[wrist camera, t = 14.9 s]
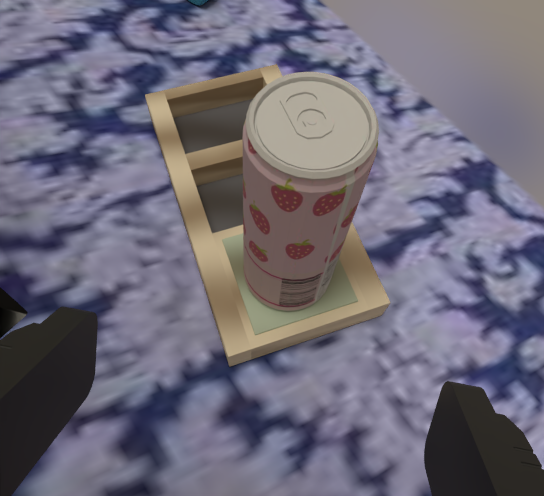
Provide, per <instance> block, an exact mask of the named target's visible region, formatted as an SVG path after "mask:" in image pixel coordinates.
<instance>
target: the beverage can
mask: <svg viewBox="0 0 544 496" xmlns="http://www.w3.org/2000/svg"><path fill="white" fill-rule="evenodd" d="M378 134H379V128H378V120H377V117H376V114H375V111H374V109H373V108H372V106H371V104H370V103H369V101H368V99H367V98H366V97H365V96H364V95H363V94H362V93H361V92H360V91H359V90H358V89H357V88H356V87H354V86H353V85H351V84H350V83H349V82H346V81H344V80H342V79H340V78H338V77H335V76H332V75H329V74H325V73H317V72H299V73H293V74H288V75H285V76H283V77H280V78H277V79H276V80H274V81H272V82H271V83H269V84H267V85H266V86H265V87H264V88H263V89H262V90H261V91H260V92H258V93H257V94H256V96H255V97H254V99H253V100H252V102H251V103H250V105H249V108H248V111H247V114H246V120H245V123H244V126H243V252H244V276H245V281H246V283H247V286H248V288H249V290H250V291H251V292H252V294H253V295H254V296H255V297H256V298H257V299H258V300H259V301H260V302H262V303H264V304H265V305H267V306H269V307H271V308H274V309H277V310H284V311H295V310H300V309H303V308H306V307H308V306H310V305H312V304H314V303H315V302H316V301H318V300H319V299H320V298H321V297H322V295H323V294H324V293H325V292H326V290H327V287H328V285H329V283H330V280H331V278H332V275H333V272H334V269H335V267H336V264H337V261H338V258H339V256H340V253H341V250H342V247H343V244H344V242H345V239H346V236H347V233H348V231H349V228H350V225H351V222H352V220H353V217H354V214H355V211H356V209H357V206H358V203H359V200H360V198H361V195H362V192H363V189H364V187H365V184H366V181H367V178H368V176H369V173H370V170H371V167H372V165H373V162H374V159H375V156H376V152H377V146H378V140H377V139H378Z"/></svg>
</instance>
